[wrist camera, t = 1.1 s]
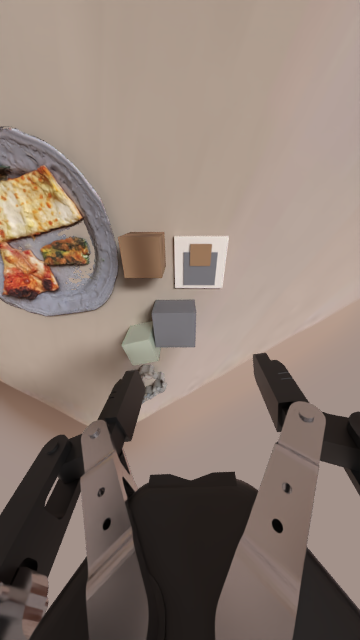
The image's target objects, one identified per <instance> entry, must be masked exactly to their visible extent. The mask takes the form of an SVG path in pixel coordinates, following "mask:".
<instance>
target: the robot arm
mask: <svg viewBox="0 0 360 640" xmlns="http://www.w3.org/2000/svg"><path fill="white" fill-rule="evenodd" d="M253 363H254V364H253V365H254V375H255V379H256V382H257V385H258V387H259V389H260V391H261V394H262V397H263V399H264V401H265V404H266V406H267V409H268V411H269V413H270V416H271V418H272V420H273V423H274V425H275V428H276V430H277V432H281V434H280V437H279V440H278V442H277V443H275V445H274V447H273V450H272V453H271V456H270V459H269V462H268V465H267V467H266V470H265V473H264V476H263V479H262V482H261V485H260V488H259V491H258V490H257V489H255V488H254V487H253V486H251V485H249V484H248V483H245V482H244V481H241V480H238V479H236V477H235V472H219V473H218V472H217V473H210V474H208V475H205V476H202V477H200V478H197V479H194V480H187V479H183V478H180V477H177V476H174V475H171V474H162V475H150V479H149V483H147V484H145V485H143V486H142V487H141V488H139V489H138V487H137V485H136V483H135V481H134V478H133V476H132V473H131V470H130V467H129V464H128V461H127V458H126V455H125V452H124V449H123V444H124V442H128V441H131V440H132V436H133V433H134V429H135V426H136V422H137V419H138V415H139V412H140V408H141V405H142V401H143V398H144V394H145V386H144V383H143V381H142V379H141V376H140V374H139V372H138V370H132V371H126V372H125V374H124V376H123V379H120V380H119V381H118V382H117V383H116V384H115V385H114V387H113V389H112V392H111V394H110V396H109V399H108V400H107V402H106V404H105V406H104V408H103V410H102V412H101V414H100V416H99V418H98V420H97V421H94V422H93V423H91V424H90V425H89V426H88V427H87V428H86V429H85V430H84V432H83V434H81V435H78V436H75V437H73V438H70V439H68V438H67V437H66V436H65V435H58V436H56V437H54V438H53V439H51V440H50V441H49V442H48V443H47V444H46V445H45V446H44V447H43V448H42V450H41V452H40V453H39V455H38V456H37V458H36V460H35V461H34V463H33V464H32V466H31V468H30V469H29V471H28V472H27V474H26V475H25V477H24V478H23V480H22V482H21V483H20V485H19V486H18V488H17V490H16V491H15V493H14V495H13V496H12V497H11V499H10V501H9V502H8V504H7V505H6V507H5V509H4V510H3V512H2V513H1V515H0V640H360V610H359V608H358V607H357V606H356V605H355V604H354V603H353V601H352V600H351V599H350V598H349V597H348V595H347V594H346V593H345V592H344V591H343V589H342V588H341V587H340V586H339V585H338V583H337V582H336V581H335V580H334V579H333V577H332V576H331V575H330V574H329V573H328V572H327V570H326V569H325V568H324V567H323V566H322V564H321V563H320V562H319V561H318V560H317V558H316V557H315V556H314V555H313V554H312V552H311V551H310V550H309V549H308V548H307V541H308V535H309V528H310V522H311V516H312V509H313V503H314V496H315V491H316V484H317V478H318V471H319V461H324V462H327V463H330V464H334V465H337V466H341V467H344V469H345V471H346V472H347V474H348V476H349V478H350V480H351V481H352V483H353V485H354V486H355V488H356V490H357V492H358V494H359V495H360V412H355V413H352V414H351V415H350V417H349V418H347V417H342V416H336V415H331V414H327V413H324V412H322V411H321V410H320V409H318V408H317V407H316V406H314V405H312V404H310V403H309V402H308V400H307V399H306V397H305V396H304V394H303V393H302V391H301V390H300V389H299V387H298V385H297V384H296V382H295V381H294V379H292V376H291V375H290V373H289V372H288V370H287V369H286V368H285V366H284V365H283V364H282V363H280V362H279V361H277V360H272V361H271V360H270V359H269V357H268V355H267V354H266V353H260V354H253ZM57 477H58V478H59V480H58V481H57V484H56V485H55V488H54V490H53V492H52V494H51V496H50V498H49V500H48V502H47V504H46V506H45V501H46V498H47V496H48V494H49V492H50V490H51V488H52V486H53V484H54V482H55V480H56V478H57ZM80 492H81V496H82V507H83V517H84V529H85V540H86V550H87V557H86V558H85V560H84V561H83V563H82V564H81V565H80V567H79V568H78V569H77V571H76V572H75V573H74V575H73V576H72V577H71V579H70V580H69V582H68V583H67V584H66V586H65V587H64V589H63V590H62V591H61V593H60V594H59V595H58V597H57V598H56V600H55V601H54V602H53V604H52V605H51V606H50V608H49V609H48V611H47V612H46V610H47V607H48V597H47V595H48V588H49V587H48V576H49V573H50V571H51V568H52V565H53V563H54V560H55V557H56V555H57V552H58V550H59V547H60V545H61V542H62V539H63V537H64V534H65V531H66V529H67V526H68V524H69V521H70V518H71V515H72V513H73V510H74V508H75V505H76V503H77V500H78V497H79V495H80Z"/></svg>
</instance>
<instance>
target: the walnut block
mask: <svg viewBox="0 0 360 640" xmlns="http://www.w3.org/2000/svg"><path fill="white" fill-rule="evenodd" d="M118 241H119V247H120V253H121V258H122V264H123V270H124V276H125V278H162V276H163V273H164V270H165V267H166V261H165V238H164V232H130V233H127V234H125V235H122V236H120V237H118Z"/></svg>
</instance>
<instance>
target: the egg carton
mask: <svg viewBox="0 0 360 640" xmlns="http://www.w3.org/2000/svg"><path fill="white" fill-rule="evenodd" d="M153 368H154V366H152V365H142V366H141V368H140V371H139V374H140V376H141V379H142V378H143V377H145V378H146V379H152V378H154V379H158V380H155V382H154V387H153V386H147V387H146V388H145V394H144V398H143V401H142V404H143V403H144V402H145V401H147V400H148V399H152V398H153V397H154V396H156V395H157V394H159V393H162V392H164V391H165V389H166V386H167V383H164V381H165V378H164V373H163V372H159V373H157V372H155V371H153ZM142 381H143V380H142ZM143 383H144V381H143Z"/></svg>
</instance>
